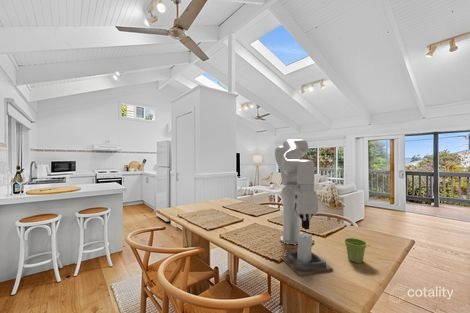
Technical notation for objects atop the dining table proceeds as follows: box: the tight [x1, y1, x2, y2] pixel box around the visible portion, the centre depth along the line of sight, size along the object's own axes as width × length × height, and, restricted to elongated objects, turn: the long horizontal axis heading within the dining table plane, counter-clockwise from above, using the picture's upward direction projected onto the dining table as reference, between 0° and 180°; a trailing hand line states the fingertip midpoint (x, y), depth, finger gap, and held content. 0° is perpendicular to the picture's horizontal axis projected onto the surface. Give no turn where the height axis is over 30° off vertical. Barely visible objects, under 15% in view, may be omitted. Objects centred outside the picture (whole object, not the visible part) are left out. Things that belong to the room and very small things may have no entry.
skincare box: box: [297, 232, 313, 264], centre depth 96 cm, size 6×4×12 cm
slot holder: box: [280, 251, 334, 277], centre depth 96 cm, size 16×16×3 cm
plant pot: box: [343, 237, 368, 264], centre depth 100 cm, size 9×9×9 cm
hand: (305, 228), depth 95 cm, fingers closed
